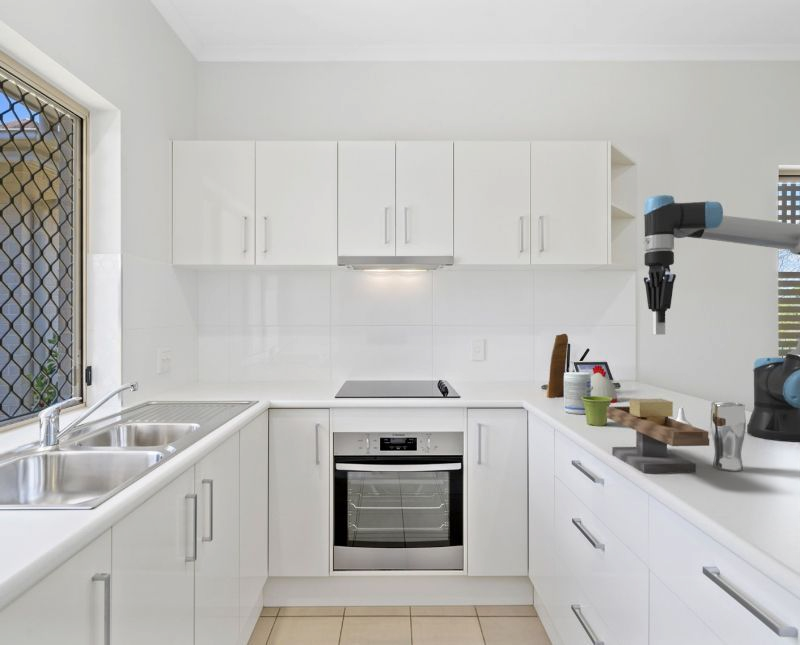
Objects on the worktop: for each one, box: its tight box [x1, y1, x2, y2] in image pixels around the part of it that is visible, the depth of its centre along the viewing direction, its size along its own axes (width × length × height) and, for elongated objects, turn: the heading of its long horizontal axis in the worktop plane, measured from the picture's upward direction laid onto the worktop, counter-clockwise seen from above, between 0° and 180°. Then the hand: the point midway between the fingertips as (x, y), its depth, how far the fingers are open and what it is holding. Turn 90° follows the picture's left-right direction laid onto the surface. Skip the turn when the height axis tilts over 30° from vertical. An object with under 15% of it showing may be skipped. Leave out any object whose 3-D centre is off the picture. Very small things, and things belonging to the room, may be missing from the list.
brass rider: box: [629, 398, 674, 425], centre depth 127 cm, size 5×8×5 cm, turn 92°
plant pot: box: [582, 396, 612, 427], centre depth 173 cm, size 9×9×9 cm
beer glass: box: [709, 401, 747, 473], centre depth 122 cm, size 7×7×15 cm
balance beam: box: [606, 405, 710, 474], centre depth 127 cm, size 32×12×11 cm, turn 2°
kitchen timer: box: [590, 364, 618, 404], centre depth 223 cm, size 14×14×15 cm
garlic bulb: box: [675, 406, 693, 426], centre depth 161 cm, size 6×6×8 cm
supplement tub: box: [563, 371, 591, 415], centre depth 195 cm, size 10×10×15 cm
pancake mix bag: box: [546, 333, 569, 399], centre depth 236 cm, size 7×19×28 cm, turn 141°
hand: (659, 334), depth 149 cm, fingers closed
